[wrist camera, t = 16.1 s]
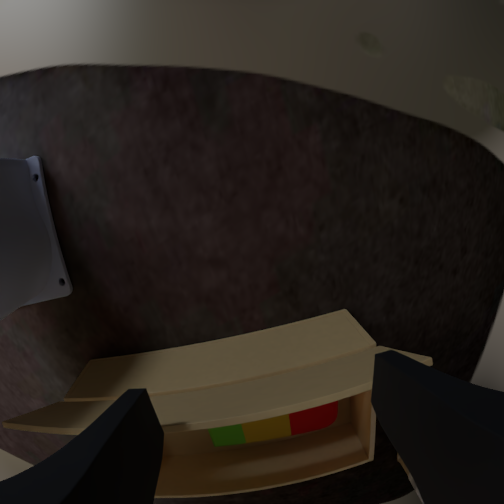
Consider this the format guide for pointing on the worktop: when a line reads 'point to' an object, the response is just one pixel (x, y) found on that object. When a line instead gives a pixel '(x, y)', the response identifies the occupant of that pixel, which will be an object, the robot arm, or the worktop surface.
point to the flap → (227, 399)
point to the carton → (238, 371)
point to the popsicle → (276, 426)
